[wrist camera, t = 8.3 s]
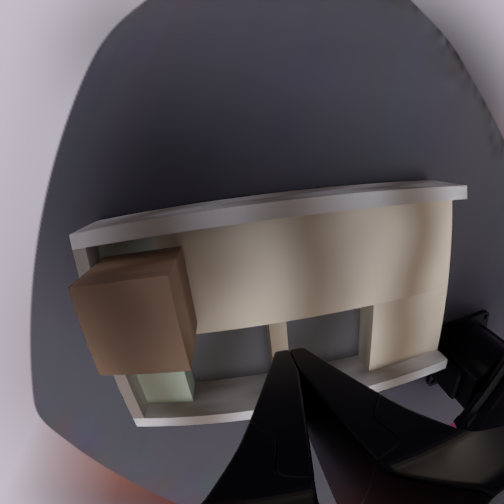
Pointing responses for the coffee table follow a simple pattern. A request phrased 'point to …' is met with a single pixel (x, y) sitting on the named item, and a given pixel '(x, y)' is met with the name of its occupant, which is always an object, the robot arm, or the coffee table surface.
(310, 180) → the coffee table surface
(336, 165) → the coffee table surface
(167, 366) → the walnut block
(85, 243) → the grey slotted tray
